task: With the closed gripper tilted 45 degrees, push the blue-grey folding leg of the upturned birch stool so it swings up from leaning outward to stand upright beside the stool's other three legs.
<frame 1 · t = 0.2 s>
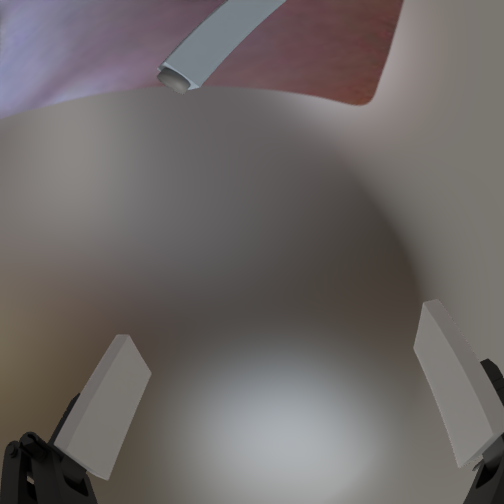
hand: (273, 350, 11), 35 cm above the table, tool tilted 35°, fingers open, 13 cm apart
folding leg: (222, 28, 20), point 8 cm above the table, hinge at 55.0°
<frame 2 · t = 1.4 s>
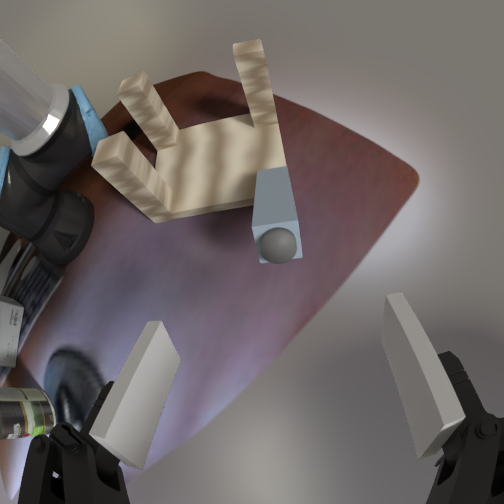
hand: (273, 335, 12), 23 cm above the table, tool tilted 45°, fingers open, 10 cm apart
upturned stool: (218, 164, 45), on the table
hard drive box: (13, 333, 43), on the table
folding leg: (276, 207, 31), point 8 cm above the table, hinge at 55.0°
coffee can: (43, 411, 36), on the table
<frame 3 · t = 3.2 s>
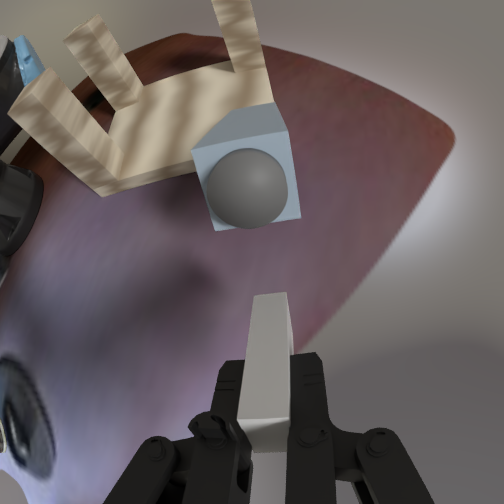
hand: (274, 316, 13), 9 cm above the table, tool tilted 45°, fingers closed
upturned stool: (186, 119, 31), on the table
folding leg: (254, 145, 17), point 8 cm above the table, hinge at 55.0°
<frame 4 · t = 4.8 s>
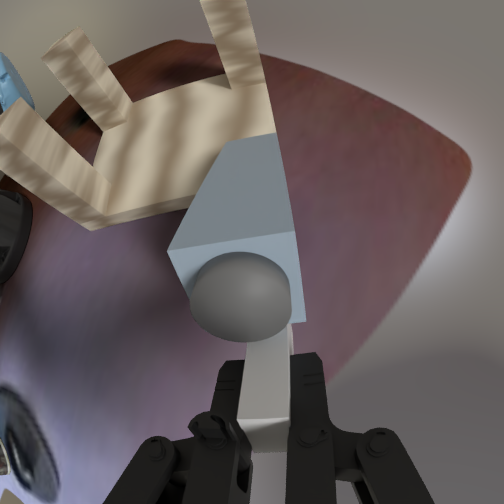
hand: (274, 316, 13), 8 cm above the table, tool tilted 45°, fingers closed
upturned stool: (178, 143, 29), on the table
folding leg: (251, 201, 15), point 8 cm above the table, hinge at 54.7°, touching gripper
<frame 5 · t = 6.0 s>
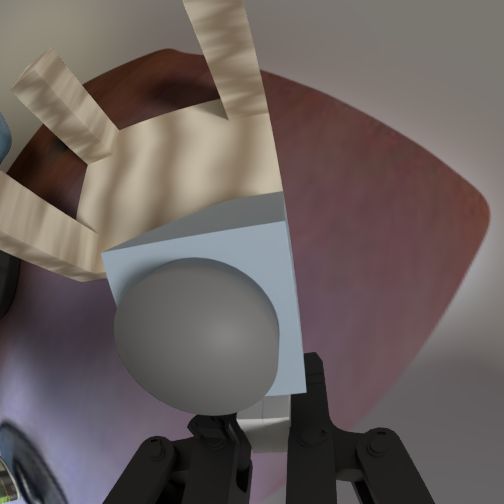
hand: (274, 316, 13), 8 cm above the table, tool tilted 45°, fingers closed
upturned stool: (169, 184, 27), on the table
folding leg: (245, 249, 12), point 10 cm above the table, hinge at 32.6°, touching gripper
coffee can: (5, 475, 19), on the table
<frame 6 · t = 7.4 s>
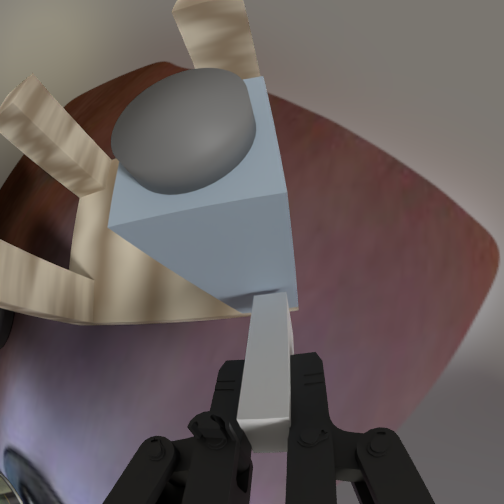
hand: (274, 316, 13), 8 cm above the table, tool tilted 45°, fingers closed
upturned stool: (167, 226, 26), on the table
folding leg: (245, 243, 13), point 10 cm above the table, hinge at -1.2°, touching gripper
coffee can: (11, 495, 17), on the table
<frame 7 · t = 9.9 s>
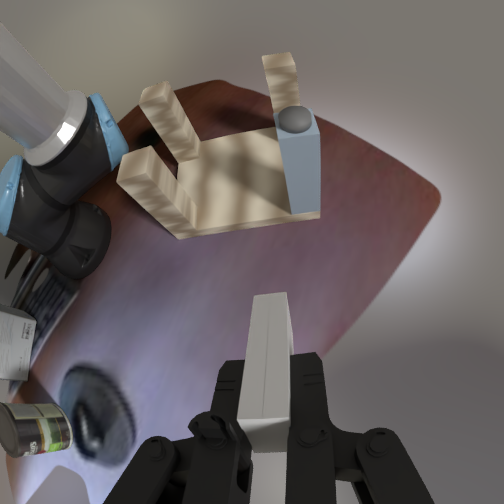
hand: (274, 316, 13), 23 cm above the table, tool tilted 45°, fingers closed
upturned stool: (242, 179, 45), on the table
hard drive box: (25, 346, 44), on the table
folding leg: (300, 165, 31), point 10 cm above the table, hinge at -1.2°
coffee can: (58, 426, 36), on the table
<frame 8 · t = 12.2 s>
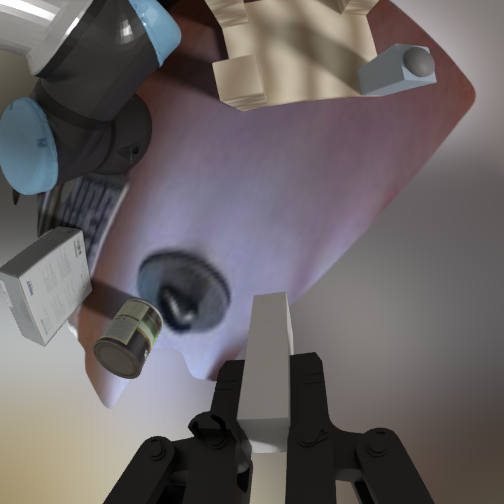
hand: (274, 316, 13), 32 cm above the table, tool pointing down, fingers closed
upturned stool: (302, 47, 32), on the table
hard drive box: (75, 259, 52), on the table
folding leg: (391, 73, 25), point 10 cm above the table, hinge at -1.2°
coffee can: (142, 316, 57), on the table
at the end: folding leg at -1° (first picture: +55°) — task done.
